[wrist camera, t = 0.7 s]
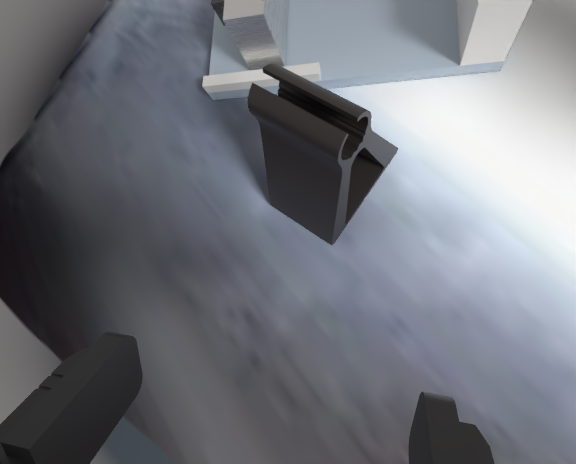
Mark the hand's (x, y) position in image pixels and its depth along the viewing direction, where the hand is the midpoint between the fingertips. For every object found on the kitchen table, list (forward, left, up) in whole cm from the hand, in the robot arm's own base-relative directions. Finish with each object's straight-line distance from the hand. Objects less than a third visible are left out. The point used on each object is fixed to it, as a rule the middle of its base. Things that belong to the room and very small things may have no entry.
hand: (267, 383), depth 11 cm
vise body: (0, -26, -18) cm, 32 cm away
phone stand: (+1, -12, -18) cm, 22 cm away
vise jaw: (+7, -26, -17) cm, 32 cm away
